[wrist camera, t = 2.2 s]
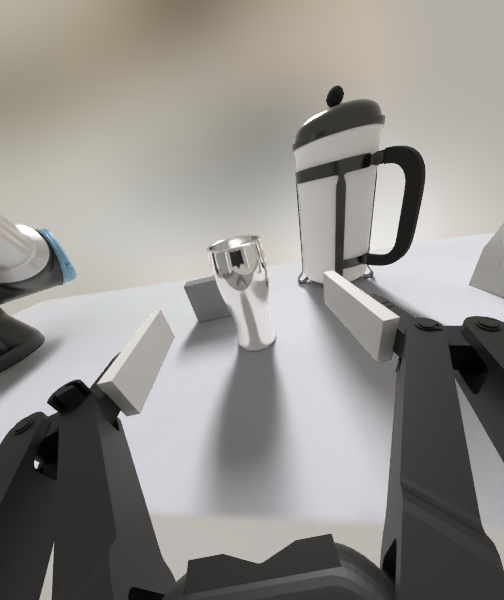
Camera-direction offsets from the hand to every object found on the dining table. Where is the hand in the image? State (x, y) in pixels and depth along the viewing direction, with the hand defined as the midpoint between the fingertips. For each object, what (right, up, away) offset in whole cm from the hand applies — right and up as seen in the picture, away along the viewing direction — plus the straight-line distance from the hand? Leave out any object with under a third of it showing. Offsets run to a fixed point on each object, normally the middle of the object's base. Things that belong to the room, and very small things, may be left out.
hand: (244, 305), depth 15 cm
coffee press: (+19, +5, +25) cm, 32 cm away
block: (-6, -3, +23) cm, 23 cm away
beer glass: (+1, -6, +14) cm, 16 cm away
